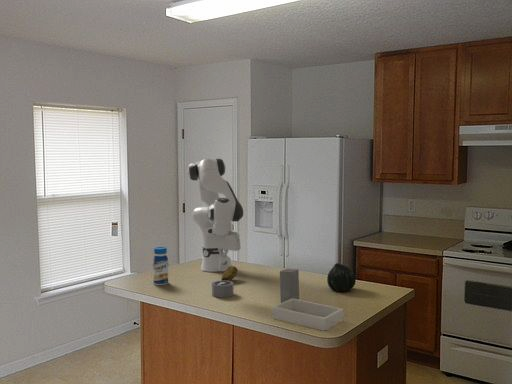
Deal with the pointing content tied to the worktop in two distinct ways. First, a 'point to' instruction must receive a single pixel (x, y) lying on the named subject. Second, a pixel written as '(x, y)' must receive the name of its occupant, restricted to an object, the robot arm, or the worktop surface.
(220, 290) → the faceted grey cup
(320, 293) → the worktop surface
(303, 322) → the frame
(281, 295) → the skincare box
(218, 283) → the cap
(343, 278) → the squash
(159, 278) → the beverage bottle
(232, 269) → the potato
